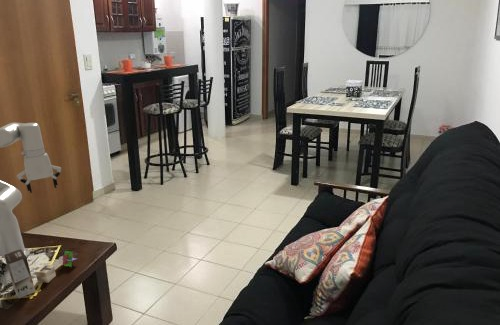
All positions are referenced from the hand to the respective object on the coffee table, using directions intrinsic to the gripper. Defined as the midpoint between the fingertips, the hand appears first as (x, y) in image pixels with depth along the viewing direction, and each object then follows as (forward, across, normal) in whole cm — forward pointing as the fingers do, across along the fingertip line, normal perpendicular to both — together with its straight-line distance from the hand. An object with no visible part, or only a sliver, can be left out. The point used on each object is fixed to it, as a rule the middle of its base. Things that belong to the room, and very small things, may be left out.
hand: (43, 189), depth 174 cm
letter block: (+33, -6, -18) cm, 38 cm away
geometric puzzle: (+33, +4, -12) cm, 36 cm away
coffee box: (+33, -14, -21) cm, 42 cm away
